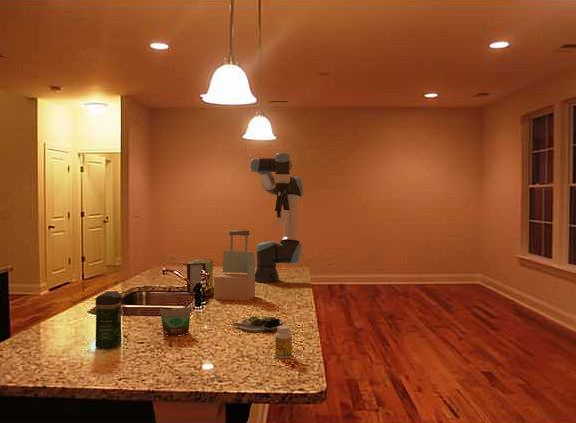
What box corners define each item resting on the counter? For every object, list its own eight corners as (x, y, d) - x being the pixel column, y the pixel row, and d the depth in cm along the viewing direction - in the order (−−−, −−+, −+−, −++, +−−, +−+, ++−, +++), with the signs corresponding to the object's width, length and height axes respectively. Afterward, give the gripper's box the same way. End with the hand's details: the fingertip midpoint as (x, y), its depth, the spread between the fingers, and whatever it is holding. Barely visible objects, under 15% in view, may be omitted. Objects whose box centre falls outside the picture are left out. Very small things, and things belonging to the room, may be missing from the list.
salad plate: (229, 334, 189) (229, 321, 189) (236, 321, 207) (236, 310, 207) (280, 334, 189) (280, 322, 188) (283, 322, 206) (283, 311, 206)
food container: (163, 339, 181) (163, 311, 181) (159, 334, 187) (159, 308, 186) (196, 334, 187) (196, 308, 186) (191, 330, 192) (191, 304, 192)
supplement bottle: (294, 354, 164) (294, 325, 164) (288, 359, 159) (288, 329, 159) (279, 352, 166) (279, 324, 166) (272, 357, 161) (272, 328, 161)
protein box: (213, 287, 280) (213, 259, 279) (205, 292, 264) (205, 263, 264) (194, 286, 281) (194, 259, 280) (186, 292, 266) (186, 263, 265)
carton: (221, 294, 260) (221, 254, 259) (254, 296, 256) (254, 255, 255) (213, 298, 250) (213, 256, 249) (248, 300, 245) (248, 257, 245)
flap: (222, 272, 258) (223, 271, 260) (252, 273, 254) (253, 273, 256) (223, 230, 259) (225, 230, 261) (253, 230, 255) (254, 231, 258)
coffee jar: (117, 349, 169) (116, 294, 168) (92, 350, 168) (92, 295, 167) (124, 341, 178) (123, 289, 178) (101, 341, 178) (101, 289, 177)
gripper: (281, 183, 277) (281, 221, 277) (269, 182, 252) (269, 224, 253) (294, 183, 275) (294, 221, 276) (283, 182, 251) (283, 224, 251)
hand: (282, 223), depth 264 cm, fingers open, 13 cm apart
